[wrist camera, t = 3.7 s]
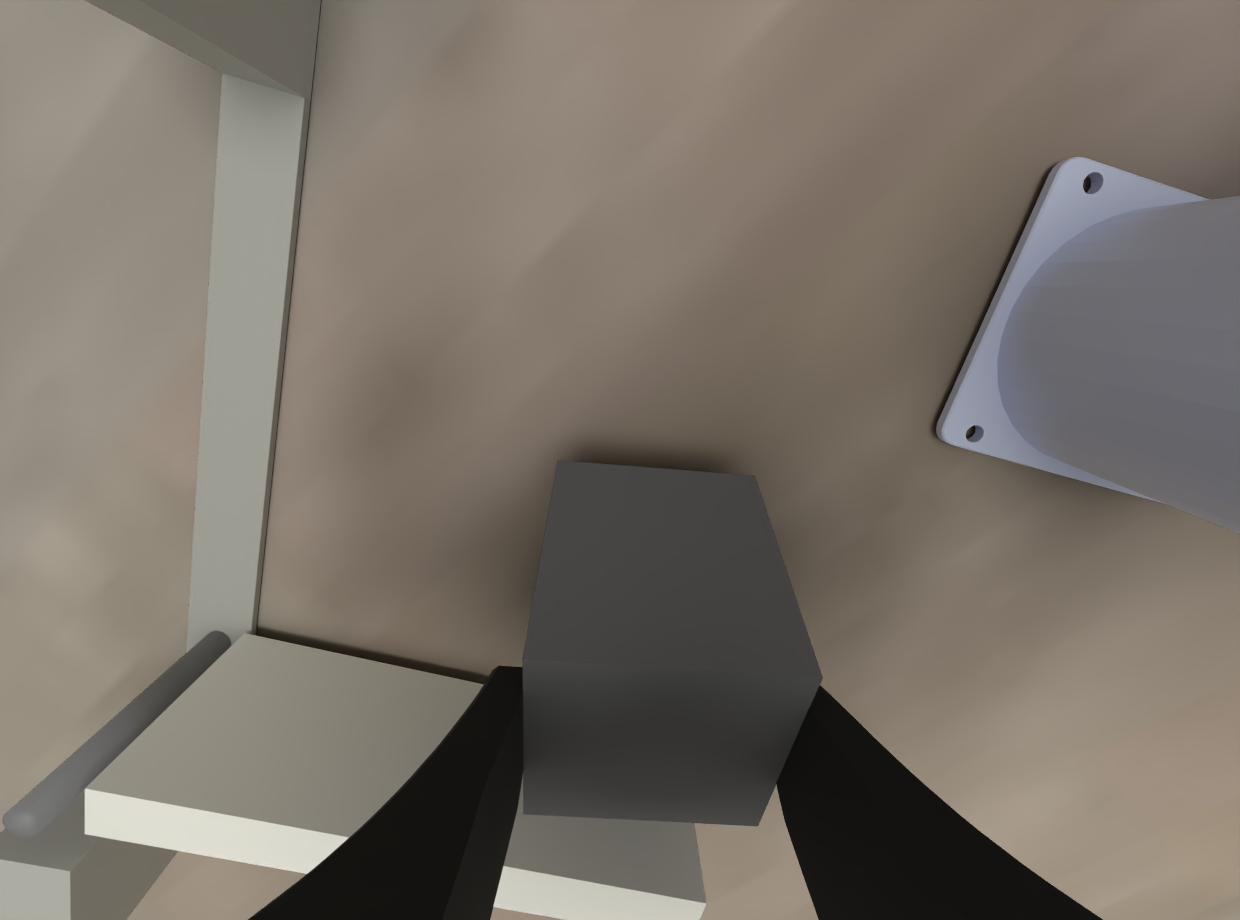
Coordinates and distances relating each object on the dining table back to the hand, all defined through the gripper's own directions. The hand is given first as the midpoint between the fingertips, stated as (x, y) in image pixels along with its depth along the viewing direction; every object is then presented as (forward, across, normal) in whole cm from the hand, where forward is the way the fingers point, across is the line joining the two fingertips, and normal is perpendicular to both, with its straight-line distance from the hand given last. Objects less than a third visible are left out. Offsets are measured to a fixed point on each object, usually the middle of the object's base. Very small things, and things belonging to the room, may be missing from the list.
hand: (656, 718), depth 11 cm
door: (+7, +5, +7) cm, 11 cm away
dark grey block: (+6, 0, 0) cm, 6 cm away
